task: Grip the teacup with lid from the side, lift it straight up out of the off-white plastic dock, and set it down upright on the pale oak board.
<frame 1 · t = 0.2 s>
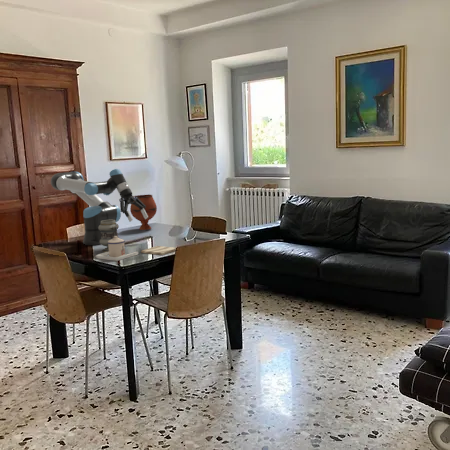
hand: (139, 219, 306), 15 cm above the table, tool tilted 35°, fingers open, 13 cm apart
apothecary jar: (110, 250, 290), on the table
goblet: (145, 229, 360), on the table
oak board: (159, 251, 280), on the table
cup dock: (117, 256, 273), on the table
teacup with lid: (117, 256, 273), on the table
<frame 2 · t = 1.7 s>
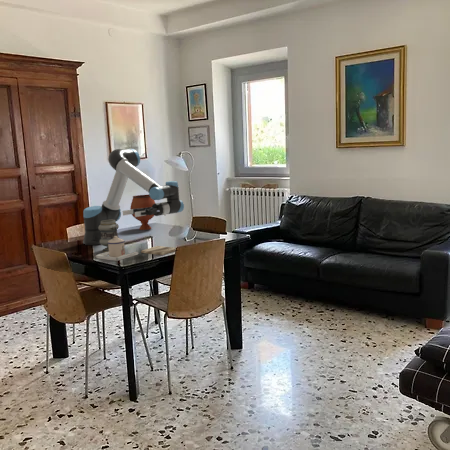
hand: (128, 213, 275), 23 cm above the table, tool horizontal, fingers open, 13 cm apart
nothing on the table moved.
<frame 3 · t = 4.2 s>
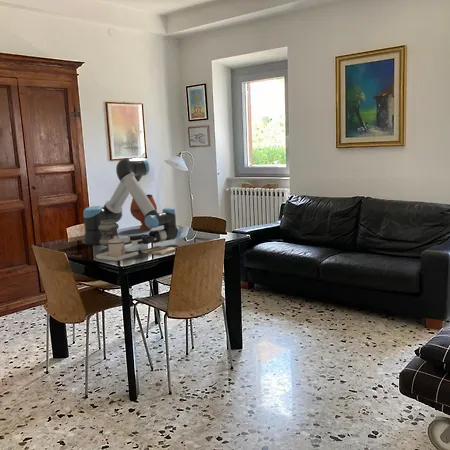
hand: (125, 242, 275), 7 cm above the table, tool horizontal, fingers open, 13 cm apart
nothing on the table moved.
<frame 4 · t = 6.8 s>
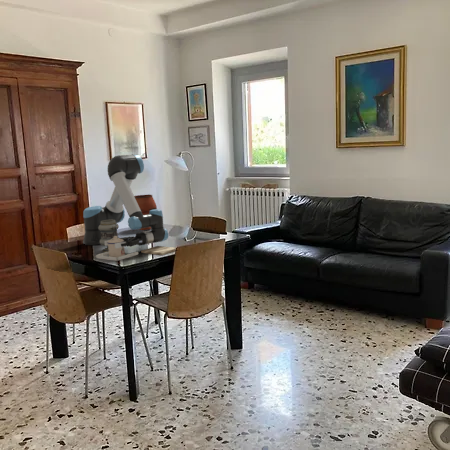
hand: (110, 244, 269), 7 cm above the table, tool horizontal, fingers closed on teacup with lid, 11 cm apart
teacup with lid: (117, 256, 273), on the table, touching gripper
everything else where it was.
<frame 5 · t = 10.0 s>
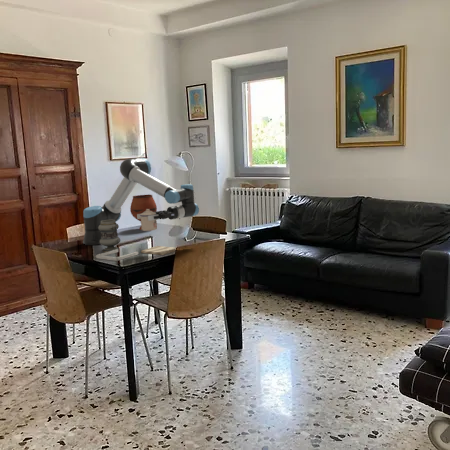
hand: (142, 217, 271), 21 cm above the table, tool horizontal, fingers closed on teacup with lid, 11 cm apart
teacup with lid: (149, 229, 275), point 14 cm above the table, touching gripper
everything else where it was.
when the fingers open (10 cm above the table, at t = 13.4 s): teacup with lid drops 1 cm, resting on oak board.
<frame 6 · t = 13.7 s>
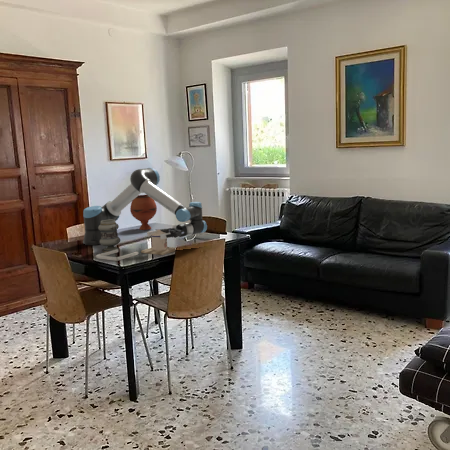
hand: (153, 235, 276), 10 cm above the table, tool horizontal, fingers open, 13 cm apart
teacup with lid: (159, 249, 280), point 1 cm above the table, touching oak board
everything else where it was.
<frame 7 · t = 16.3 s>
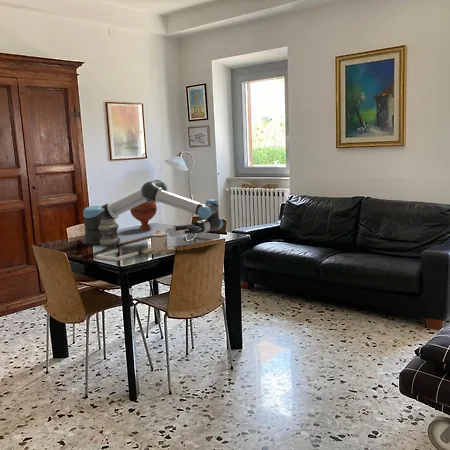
hand: (172, 231, 284), 10 cm above the table, tool horizontal, fingers open, 13 cm apart
nothing on the table moved.
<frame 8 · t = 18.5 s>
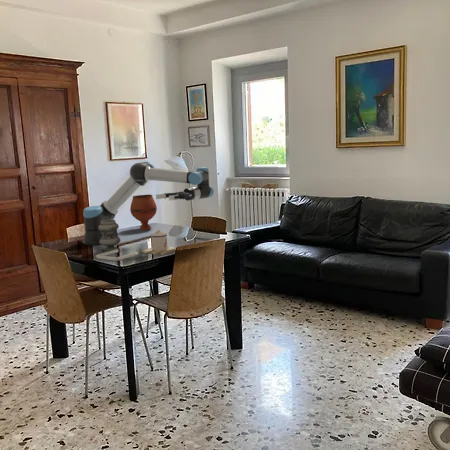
hand: (162, 197, 285), 30 cm above the table, tool horizontal, fingers open, 13 cm apart
nothing on the table moved.
at the end: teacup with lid inside the target area on the oak board (0.2 cm from its centre), point 1.0 cm above the oak board's base; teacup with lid tilted 0°; the gripper is holding nothing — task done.
